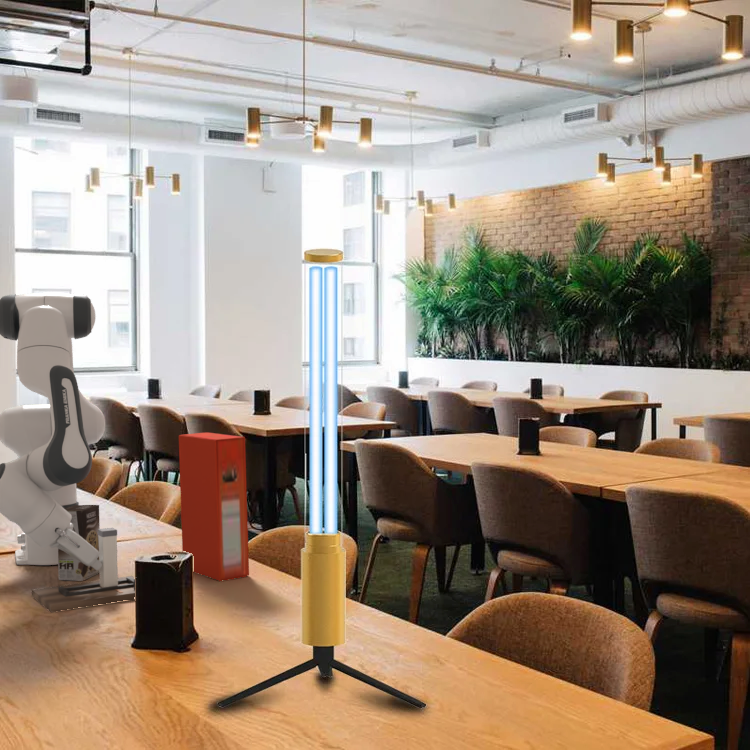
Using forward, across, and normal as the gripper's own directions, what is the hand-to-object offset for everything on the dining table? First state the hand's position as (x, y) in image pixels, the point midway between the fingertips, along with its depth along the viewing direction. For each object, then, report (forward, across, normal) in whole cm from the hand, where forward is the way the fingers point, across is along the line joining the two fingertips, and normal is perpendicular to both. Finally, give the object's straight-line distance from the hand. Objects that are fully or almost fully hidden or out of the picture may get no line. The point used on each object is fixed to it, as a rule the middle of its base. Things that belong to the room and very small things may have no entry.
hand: (98, 566), depth 223 cm
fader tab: (+5, 0, +2) cm, 5 cm away
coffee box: (+6, +21, +3) cm, 22 cm away
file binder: (+25, +6, -16) cm, 30 cm away
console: (+4, 0, +5) cm, 6 cm away
